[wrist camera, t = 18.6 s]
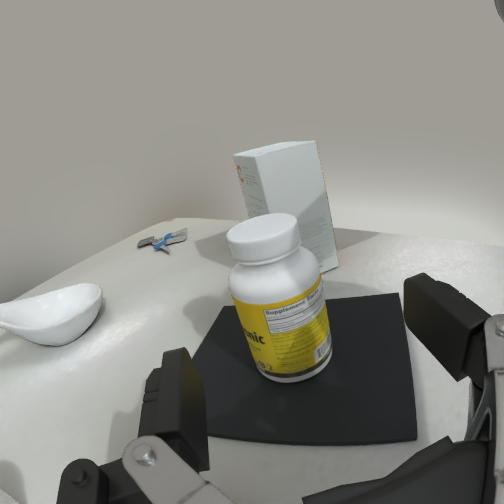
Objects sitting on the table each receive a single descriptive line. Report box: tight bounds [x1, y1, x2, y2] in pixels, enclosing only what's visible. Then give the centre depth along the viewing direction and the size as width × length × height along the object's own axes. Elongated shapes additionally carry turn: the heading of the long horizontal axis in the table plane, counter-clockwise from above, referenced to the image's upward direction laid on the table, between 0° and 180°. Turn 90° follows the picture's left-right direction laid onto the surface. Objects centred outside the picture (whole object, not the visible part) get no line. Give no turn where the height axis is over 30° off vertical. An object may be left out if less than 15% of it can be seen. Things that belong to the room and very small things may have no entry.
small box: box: [233, 141, 339, 273], centre depth 33 cm, size 8×6×13 cm
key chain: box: [137, 228, 187, 252], centre depth 56 cm, size 14×8×1 cm, turn 48°
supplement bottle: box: [226, 213, 332, 383], centre depth 19 cm, size 5×5×10 cm
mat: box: [192, 293, 417, 445], centre depth 21 cm, size 16×14×1 cm
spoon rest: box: [0, 283, 103, 346], centre depth 29 cm, size 24×12×7 cm, turn 123°
